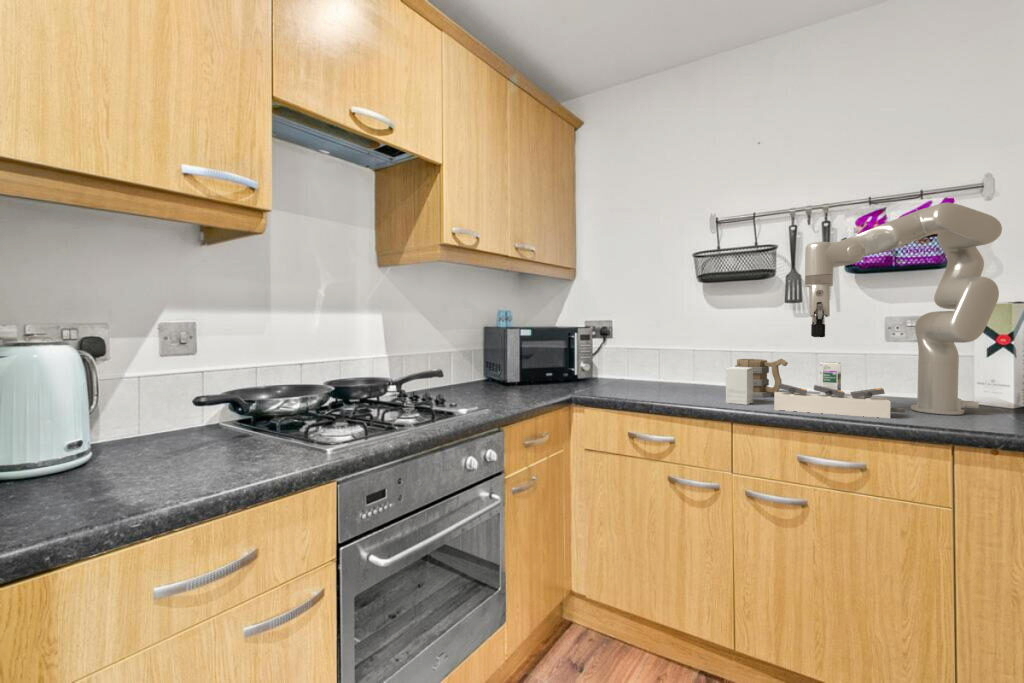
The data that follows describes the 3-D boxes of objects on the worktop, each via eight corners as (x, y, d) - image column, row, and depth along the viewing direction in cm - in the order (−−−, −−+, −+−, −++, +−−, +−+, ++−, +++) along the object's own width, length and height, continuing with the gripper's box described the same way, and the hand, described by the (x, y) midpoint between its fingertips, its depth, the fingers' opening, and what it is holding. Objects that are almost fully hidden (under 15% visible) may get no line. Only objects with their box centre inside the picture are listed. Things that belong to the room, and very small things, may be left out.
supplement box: (753, 402, 171) (754, 367, 170) (747, 405, 165) (747, 368, 165) (732, 400, 176) (732, 366, 175) (724, 403, 170) (725, 367, 170)
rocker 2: (841, 397, 152) (843, 391, 151) (843, 399, 148) (845, 392, 148) (812, 390, 155) (814, 384, 155) (813, 392, 152) (815, 385, 152)
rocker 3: (883, 394, 146) (881, 387, 147) (885, 395, 143) (883, 388, 143) (851, 398, 150) (850, 391, 150) (853, 400, 147) (851, 393, 147)
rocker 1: (804, 395, 156) (806, 389, 156) (805, 397, 153) (807, 390, 153) (777, 388, 160) (779, 382, 160) (777, 390, 157) (779, 383, 157)
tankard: (726, 394, 192) (727, 356, 191) (746, 391, 198) (747, 355, 197) (775, 401, 174) (776, 359, 174) (795, 398, 181) (796, 358, 180)
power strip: (901, 415, 146) (901, 397, 146) (907, 419, 139) (907, 401, 139) (774, 406, 163) (774, 390, 162) (774, 410, 156) (774, 393, 156)
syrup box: (821, 403, 167) (821, 362, 167) (819, 401, 172) (819, 361, 172) (840, 405, 164) (841, 363, 164) (838, 402, 170) (839, 361, 169)
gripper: (835, 279, 143) (834, 337, 143) (830, 283, 158) (829, 336, 158) (806, 280, 146) (805, 337, 147) (803, 284, 161) (803, 336, 162)
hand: (817, 336), depth 153 cm, fingers open, 8 cm apart
